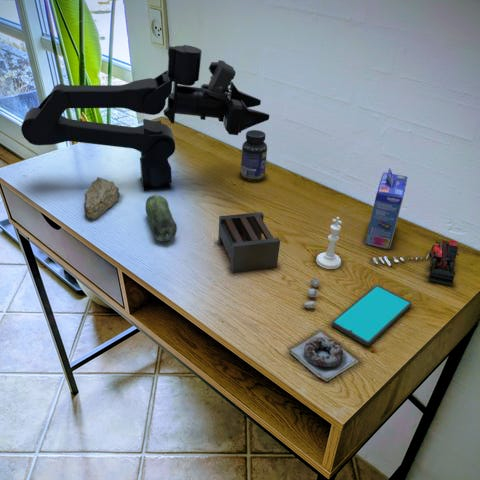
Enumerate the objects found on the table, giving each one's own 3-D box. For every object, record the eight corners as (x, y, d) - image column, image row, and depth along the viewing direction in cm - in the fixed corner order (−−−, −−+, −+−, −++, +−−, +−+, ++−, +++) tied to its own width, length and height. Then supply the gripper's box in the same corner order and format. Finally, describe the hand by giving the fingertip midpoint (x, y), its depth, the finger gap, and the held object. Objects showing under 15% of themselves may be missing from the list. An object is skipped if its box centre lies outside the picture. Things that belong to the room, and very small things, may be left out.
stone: (62, 204, 103) (72, 225, 106) (92, 200, 101) (102, 221, 104) (89, 178, 113) (98, 197, 116) (117, 173, 111) (125, 193, 114)
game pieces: (320, 283, 92) (310, 284, 93) (319, 275, 91) (308, 275, 91) (315, 312, 87) (304, 312, 87) (314, 303, 85) (303, 303, 86)
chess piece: (334, 272, 96) (344, 227, 89) (311, 263, 97) (320, 218, 91) (344, 260, 99) (355, 216, 92) (322, 252, 101) (331, 208, 94)
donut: (287, 350, 78) (289, 341, 77) (321, 332, 82) (323, 323, 81) (324, 383, 74) (327, 373, 72) (358, 361, 78) (361, 352, 76)
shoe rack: (232, 272, 94) (234, 246, 90) (218, 241, 101) (219, 216, 97) (277, 267, 96) (280, 240, 92) (259, 237, 104) (262, 211, 100)
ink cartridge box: (369, 222, 111) (385, 160, 101) (394, 227, 110) (413, 165, 100) (363, 244, 104) (379, 180, 94) (389, 250, 103) (409, 185, 93)
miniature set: (370, 258, 100) (372, 252, 98) (422, 254, 102) (425, 248, 101) (376, 267, 98) (379, 261, 96) (429, 263, 100) (432, 256, 99)
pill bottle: (264, 183, 123) (268, 139, 115) (240, 181, 122) (242, 137, 115) (264, 172, 127) (268, 129, 120) (240, 170, 127) (243, 127, 120)
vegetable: (140, 194, 105) (163, 187, 105) (147, 214, 108) (168, 208, 109) (151, 229, 95) (176, 221, 96) (158, 250, 99) (182, 243, 99)
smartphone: (412, 302, 88) (368, 343, 80) (411, 306, 89) (367, 346, 80) (376, 284, 92) (331, 321, 83) (375, 287, 92) (330, 325, 84)
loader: (451, 287, 94) (460, 266, 91) (427, 281, 95) (435, 261, 92) (451, 254, 103) (459, 234, 100) (428, 249, 104) (436, 230, 101)
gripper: (206, 75, 96) (282, 85, 99) (195, 49, 109) (263, 59, 113) (199, 132, 103) (270, 139, 107) (190, 101, 116) (254, 108, 120)
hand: (264, 109), depth 111 cm, fingers open, 9 cm apart
